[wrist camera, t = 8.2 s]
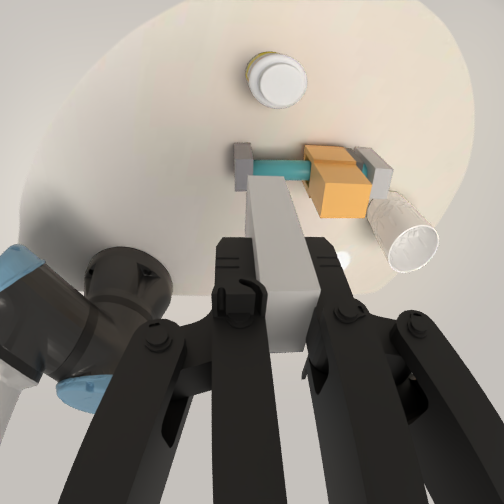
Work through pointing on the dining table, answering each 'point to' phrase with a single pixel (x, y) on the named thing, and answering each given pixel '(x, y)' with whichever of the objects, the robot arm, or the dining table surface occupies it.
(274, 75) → the supplement bottle
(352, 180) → the sleeve
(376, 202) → the white cup
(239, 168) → the teal axle dumbbell
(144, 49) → the dining table surface
